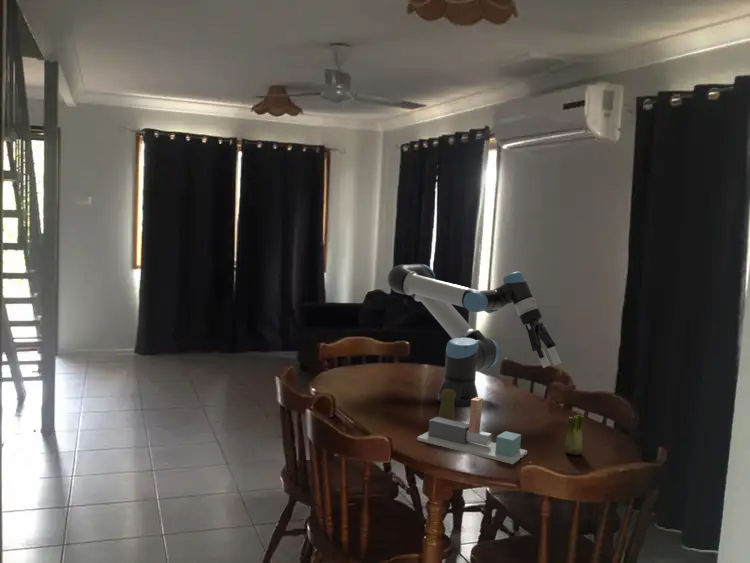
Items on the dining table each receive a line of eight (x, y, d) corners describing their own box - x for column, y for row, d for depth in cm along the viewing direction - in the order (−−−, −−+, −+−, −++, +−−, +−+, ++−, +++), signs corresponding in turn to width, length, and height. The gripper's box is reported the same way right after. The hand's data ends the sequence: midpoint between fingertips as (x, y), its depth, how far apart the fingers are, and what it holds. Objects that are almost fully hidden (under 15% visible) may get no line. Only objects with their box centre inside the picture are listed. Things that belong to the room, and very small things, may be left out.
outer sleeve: (428, 435, 223) (429, 420, 222) (435, 432, 227) (436, 416, 227) (463, 444, 217) (465, 428, 216) (470, 440, 221) (471, 424, 221)
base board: (417, 440, 221) (417, 436, 221) (434, 431, 231) (434, 428, 231) (513, 464, 205) (513, 460, 205) (527, 453, 216) (527, 450, 216)
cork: (456, 420, 245) (459, 388, 244) (452, 425, 240) (455, 392, 239) (439, 417, 247) (442, 386, 246) (435, 422, 242) (437, 390, 241)
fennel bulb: (566, 456, 216) (569, 417, 215) (560, 450, 221) (564, 412, 220) (584, 457, 216) (588, 418, 215) (579, 451, 221) (583, 413, 220)
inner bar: (437, 434, 222) (441, 393, 220) (443, 431, 225) (446, 390, 224) (486, 446, 214) (490, 403, 212) (491, 442, 217) (495, 400, 216)
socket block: (495, 453, 211) (496, 436, 210) (503, 447, 217) (505, 431, 216) (511, 457, 208) (512, 440, 208) (519, 451, 214) (521, 434, 214)
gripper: (526, 307, 253) (551, 363, 248) (547, 307, 275) (571, 359, 270) (508, 316, 257) (532, 371, 251) (530, 315, 278) (553, 366, 273)
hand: (552, 365), depth 261 cm, fingers open, 13 cm apart
